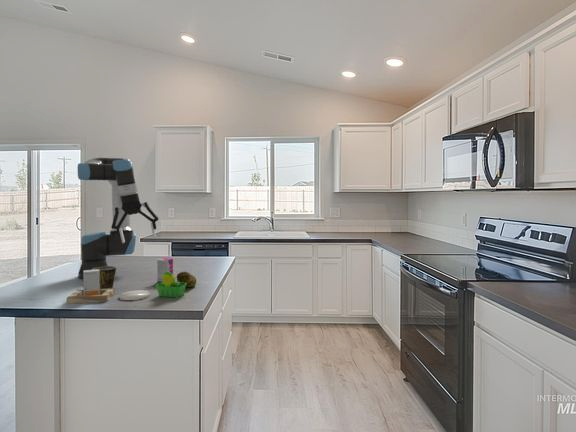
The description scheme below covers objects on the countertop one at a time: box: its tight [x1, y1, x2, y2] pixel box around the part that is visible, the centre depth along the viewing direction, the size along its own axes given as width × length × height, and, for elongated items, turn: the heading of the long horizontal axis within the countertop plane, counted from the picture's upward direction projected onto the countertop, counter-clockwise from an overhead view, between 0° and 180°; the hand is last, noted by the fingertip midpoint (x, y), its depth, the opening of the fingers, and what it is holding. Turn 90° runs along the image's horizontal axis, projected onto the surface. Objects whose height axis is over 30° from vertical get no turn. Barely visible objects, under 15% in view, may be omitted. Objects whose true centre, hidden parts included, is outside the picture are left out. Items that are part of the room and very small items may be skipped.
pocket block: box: [66, 288, 116, 305], centre depth 155 cm, size 12×15×2 cm
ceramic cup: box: [92, 265, 117, 289], centre depth 168 cm, size 13×10×10 cm
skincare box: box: [82, 269, 100, 295], centre depth 154 cm, size 6×4×12 cm
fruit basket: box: [155, 271, 187, 298], centre depth 159 cm, size 11×9×11 cm
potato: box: [176, 271, 197, 288], centre depth 174 cm, size 8×13×8 cm, turn 151°
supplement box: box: [156, 257, 174, 284], centre depth 186 cm, size 6×6×12 cm
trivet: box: [118, 289, 151, 301], centre depth 158 cm, size 12×12×1 cm
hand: (139, 239), depth 169 cm, fingers open, 13 cm apart
